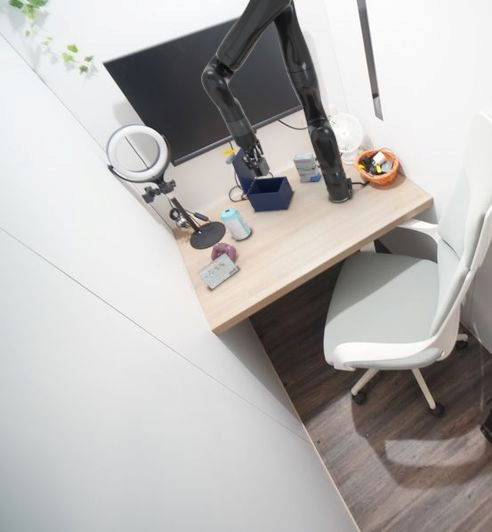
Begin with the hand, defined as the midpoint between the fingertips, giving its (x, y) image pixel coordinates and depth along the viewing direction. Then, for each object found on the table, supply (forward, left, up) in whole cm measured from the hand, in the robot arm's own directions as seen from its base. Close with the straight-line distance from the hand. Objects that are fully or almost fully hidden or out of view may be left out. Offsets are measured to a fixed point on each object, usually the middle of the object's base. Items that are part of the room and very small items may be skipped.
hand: (262, 171), depth 125 cm
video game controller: (+19, +24, -20) cm, 36 cm away
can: (+15, +12, -20) cm, 27 cm away
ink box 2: (-12, -21, -20) cm, 31 cm away
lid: (+9, -8, -2) cm, 12 cm away
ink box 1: (+17, +35, -20) cm, 44 cm away
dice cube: (0, 0, -1) cm, 1 cm away
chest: (+4, -7, -19) cm, 21 cm away
